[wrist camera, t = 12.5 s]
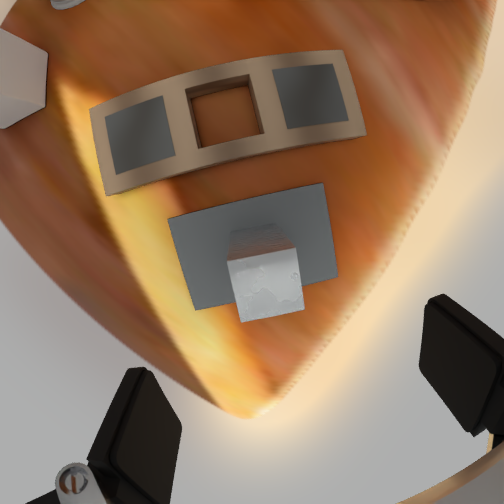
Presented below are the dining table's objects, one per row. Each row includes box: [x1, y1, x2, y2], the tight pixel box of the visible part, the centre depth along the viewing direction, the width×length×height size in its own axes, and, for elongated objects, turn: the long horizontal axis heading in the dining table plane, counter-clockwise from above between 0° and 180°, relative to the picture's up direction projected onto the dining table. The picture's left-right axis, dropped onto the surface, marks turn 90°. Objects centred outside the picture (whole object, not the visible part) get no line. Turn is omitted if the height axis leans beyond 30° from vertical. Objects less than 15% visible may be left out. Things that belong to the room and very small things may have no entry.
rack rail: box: [89, 50, 367, 196], centre depth 21 cm, size 22×8×3 cm, turn 103°
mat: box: [168, 183, 338, 311], centre depth 26 cm, size 14×9×1 cm, turn 103°
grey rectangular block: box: [227, 223, 305, 322], centre depth 21 cm, size 4×4×9 cm
